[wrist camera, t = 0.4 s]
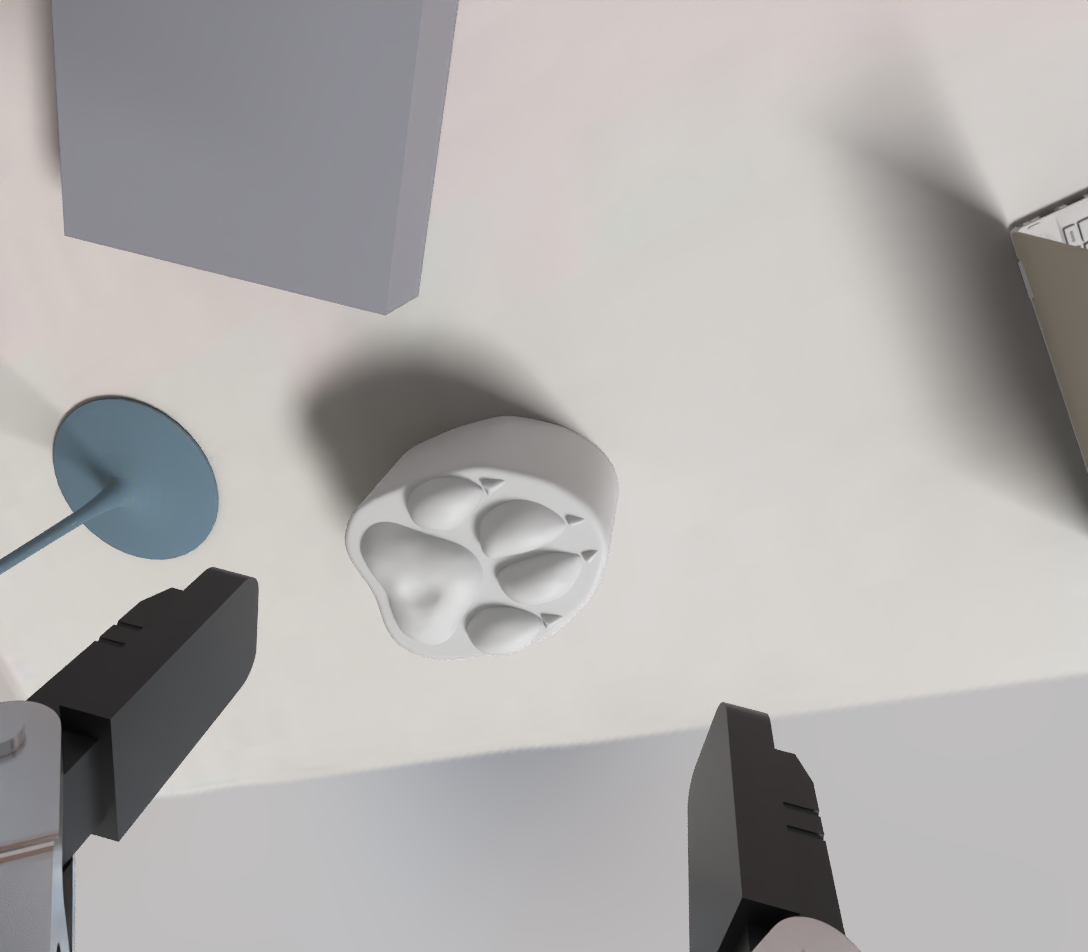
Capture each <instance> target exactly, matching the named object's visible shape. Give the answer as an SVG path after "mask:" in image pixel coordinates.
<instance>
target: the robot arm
mask: <svg viewBox="0 0 1088 952" xmlns="http://www.w3.org/2000/svg"><path fill="white" fill-rule="evenodd" d="M258 591H259V590H258V582H257V580H256V579H255V578H253V577H249V576H246V575H242V574H238V573H234V572H230V571H226V570H223V569H219V568H215V567H211V568H209V569H207V570H206V571H204V572H203V573H202V574H201V575H200V576H199V577H198V578H197V579H196V580H194V581H193V582H192V583H191V584H190V585H189V586H188V587H187V588H186V589H185V590H184V591H182V590H179V589H175V588H170V589H167V590H165V591H163V592H161V593H158V594H156V595H154V596H152V597H149V598H147V599H145V600H143V601H141V602H139V603H138V604H137V605H136V606H135V607H134V608H132V609H131V610H130V611H129V612H128V613H127V614H126V615H124V616H123V617H122V618H121V619H120V620H119V621H118V624H117V625H113V626H112V627H110V628H109V629H108V630H107V631H106V632H105V633H104V634H102V635H101V636H100V638H99V641H98V642H97V641H94V642H93V643H92V644H91V645H90V646H89V647H87V648H86V649H85V650H84V651H83V652H82V653H80V654H79V655H78V656H77V657H76V658H75V659H73V660H72V661H71V662H70V663H69V664H68V665H67V666H65V667H64V668H63V669H62V670H61V671H60V672H58V673H57V674H56V675H55V676H54V677H53V678H52V679H50V680H49V681H48V682H47V683H46V684H45V685H43V686H42V687H41V688H40V689H39V690H38V691H36V692H35V693H34V694H33V695H32V696H31V697H30V698H28V699H27V700H26V701H7V702H1V703H0V952H75V855H74V853H75V852H76V851H77V850H78V849H79V847H80V846H81V845H82V844H83V843H84V841H85V840H86V839H87V837H89V835H90V834H94V835H98V836H101V837H105V838H108V839H111V840H115V841H118V842H119V841H120V839H121V838H122V837H123V836H124V834H125V833H126V832H127V831H128V829H129V828H130V827H131V826H132V824H133V823H134V822H135V820H136V819H137V818H138V817H139V815H140V814H141V813H142V812H143V810H144V809H145V808H146V807H147V805H148V804H149V803H150V802H151V800H152V799H153V798H154V797H155V795H156V794H157V793H158V792H159V790H160V789H161V788H162V786H163V785H164V784H165V783H166V781H167V780H168V779H169V778H170V776H171V775H172V774H173V773H174V771H175V770H176V769H177V768H178V766H179V765H180V764H181V763H182V761H183V760H184V759H185V757H186V756H187V755H188V754H189V752H190V751H191V750H192V749H193V747H194V746H195V745H196V744H197V742H198V741H199V740H200V739H201V737H202V736H203V735H204V734H205V732H206V731H207V730H208V728H209V727H210V726H211V725H212V723H213V722H214V721H215V720H216V718H217V717H218V716H219V715H220V713H221V712H222V711H223V710H224V708H225V707H226V706H227V705H228V703H229V702H230V701H231V700H232V698H233V697H234V696H235V694H236V693H237V692H238V691H239V689H240V688H241V687H242V685H243V684H244V682H245V681H246V679H247V677H248V675H249V673H250V671H251V668H252V665H253V662H254V659H255V654H256V643H257V617H258ZM818 814H819V808H818V804H817V799H816V794H815V789H814V784H813V782H812V780H811V778H810V777H809V776H808V774H807V772H806V771H805V769H804V768H803V766H802V765H801V763H800V761H799V760H798V758H797V757H796V755H795V754H792V753H788V752H784V751H781V750H777V749H775V748H774V742H773V735H772V730H771V723H770V718H769V716H768V714H766V713H763V712H759V711H755V710H751V709H747V708H744V707H740V706H736V705H732V704H728V703H725V702H722V703H721V704H720V705H719V707H718V709H717V711H716V713H715V716H714V719H713V721H712V724H711V727H710V729H709V732H708V735H707V737H706V740H705V743H704V745H703V748H702V750H701V753H700V756H699V758H698V761H697V764H696V766H695V769H694V772H693V776H692V780H691V785H690V790H689V798H688V862H689V863H688V864H689V929H690V930H689V933H690V934H689V935H690V952H861V951H860V950H859V949H858V948H857V947H856V946H855V944H854V943H853V942H851V941H850V940H849V939H848V938H847V937H846V936H845V932H844V928H843V923H842V918H841V914H840V909H839V904H838V899H837V895H836V890H835V886H834V880H833V875H832V870H831V866H830V861H829V856H828V851H827V846H826V842H825V841H823V837H824V832H823V827H822V823H821V818H820V817H819V816H818Z"/></svg>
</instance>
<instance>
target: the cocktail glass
mask: <svg viewBox="0 0 1088 952" xmlns="http://www.w3.org/2000/svg"><path fill="white" fill-rule="evenodd" d="M53 463H54V469H55V475H56V478H57V481H58V485H59V487H60V490H61V492H62V494H63V496H64V498H65V500H66V502H67V503H68V505H69V506H70V508H71V510H72V511H73V512H74V513H72V514H71V515H69V516H68V517H66V518H65V519H63V520H62V521H60V522H59V523H57V524H55V525H54V526H52V527H51V528H49V529H48V530H46V531H45V532H43V533H41V534H40V535H38V536H37V537H35V538H34V539H32V540H30V541H29V542H27V543H26V544H24V545H22V546H21V547H19V548H18V549H16V550H15V551H13V552H11V553H10V554H8V555H7V556H5V557H3V558H2V559H0V574H2V573H3V572H5V571H7V570H8V569H10V568H11V567H13V566H15V565H16V564H18V563H19V562H21V561H23V560H24V559H26V558H27V557H29V556H31V555H32V554H34V553H36V552H37V551H39V550H40V549H42V548H44V547H45V546H47V545H48V544H50V543H52V542H53V541H55V540H57V539H58V538H60V537H61V536H63V535H65V534H66V533H68V532H70V531H71V530H73V529H75V528H76V527H78V526H80V525H81V524H84V525H85V526H86V527H87V528H88V529H89V530H90V531H91V532H92V533H93V534H95V535H96V536H97V537H99V538H100V539H101V540H102V541H104V542H106V543H107V544H109V545H111V546H112V547H114V548H116V549H118V550H120V551H123V552H125V553H127V554H130V555H133V556H137V557H140V558H147V559H162V560H164V559H170V558H176V557H179V556H182V555H185V554H187V553H189V552H191V551H192V550H194V549H196V548H197V547H198V546H199V545H200V544H201V543H202V542H203V541H204V540H205V539H206V538H207V536H208V535H209V533H210V532H211V530H212V528H213V526H214V524H215V521H216V517H217V512H218V490H217V484H216V481H215V477H214V474H213V471H212V469H211V466H210V464H209V462H208V460H207V458H206V456H205V455H204V453H203V452H202V450H201V448H200V447H199V446H198V444H197V443H196V442H195V441H194V439H193V438H192V437H191V436H190V435H189V434H188V433H187V432H186V431H185V430H184V429H183V428H182V427H181V426H180V425H179V424H178V423H176V422H175V421H174V420H172V419H171V418H169V417H168V416H167V415H165V414H164V413H162V412H160V411H158V410H156V409H154V408H152V407H150V406H147V405H145V404H142V403H140V402H136V401H131V400H127V399H116V398H109V399H100V400H96V401H93V402H90V403H86V404H84V405H83V406H81V407H79V408H77V409H76V410H74V411H73V412H72V413H71V414H70V415H69V416H68V417H67V418H66V419H65V421H64V422H63V424H62V425H61V427H60V428H59V431H58V433H57V436H56V438H55V444H54V449H53Z"/></svg>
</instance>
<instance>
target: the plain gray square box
mask: <svg viewBox="0 0 1088 952" xmlns="http://www.w3.org/2000/svg"><path fill="white" fill-rule="evenodd" d="M458 1H459V0H51V6H52V23H53V41H54V58H55V76H56V94H57V111H58V129H59V146H60V164H61V182H62V199H63V217H64V234H65V236H68V237H72V238H76V239H80V240H84V241H88V242H92V243H96V244H100V245H104V246H108V247H112V248H116V249H120V250H124V251H128V252H132V253H136V254H140V255H144V256H149V257H153V258H157V259H161V260H165V261H169V262H173V263H177V264H181V265H185V266H189V267H193V268H197V269H201V270H205V271H209V272H213V273H217V274H221V275H225V276H229V277H233V278H237V279H241V280H245V281H249V282H253V283H257V284H261V285H265V286H269V287H273V288H277V289H281V290H285V291H289V292H293V293H297V294H301V295H305V296H309V297H313V298H317V299H321V300H325V301H329V302H333V303H337V304H342V305H346V306H350V307H354V308H358V309H362V310H366V311H370V312H374V313H378V314H382V315H387V314H388V313H390V312H392V311H394V310H395V309H397V308H399V307H400V306H402V305H404V304H405V303H407V302H409V301H410V300H412V299H414V298H416V297H417V296H418V293H419V285H420V278H421V271H422V264H423V256H424V249H425V242H426V234H427V227H428V220H429V213H430V205H431V198H432V191H433V183H434V176H435V169H436V161H437V154H438V147H439V140H440V132H441V125H442V118H443V110H444V103H445V96H446V89H447V81H448V74H449V67H450V59H451V52H452V45H453V38H454V30H455V23H456V16H457V8H458Z"/></svg>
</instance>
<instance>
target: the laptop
mask: <svg viewBox="0 0 1088 952" xmlns="http://www.w3.org/2000/svg"><path fill="white" fill-rule="evenodd" d="M1010 236H1011V239H1012V243H1013V246H1014V249H1015V253H1016V256H1017V258H1018V259H1019V261H1018V265H1019V268H1020V271H1021V274H1022V277H1023V280H1024V283H1025V286H1026V289H1027V292H1028V296H1029V299H1031V302H1032V305H1033V308H1034V311H1035V314H1036V317H1037V320H1038V323H1039V326H1040V329H1041V332H1042V335H1043V338H1044V342H1045V345H1046V348H1047V351H1048V354H1049V357H1050V360H1051V363H1052V366H1053V369H1054V372H1055V375H1056V378H1057V381H1058V384H1059V387H1060V390H1061V393H1062V396H1063V399H1064V403H1065V406H1066V409H1067V412H1068V415H1069V418H1070V421H1071V424H1072V427H1073V430H1074V433H1075V436H1076V439H1077V442H1078V445H1079V448H1080V451H1081V454H1082V457H1083V461H1084V464H1085V467H1086V470H1087V473H1088V193H1087V194H1085V195H1083V199H1081V200H1079V201H1077V202H1074V203H1072V204H1070V205H1068V206H1067V205H1065V204H1064V205H1061V206H1059V207H1057V208H1055V212H1053V213H1051V214H1049V215H1046V216H1044V217H1042V218H1041V217H1040V216H1038V217H1035V218H1033V219H1031V220H1029V221H1027V222H1024V223H1022V224H1020V225H1018V226H1016V227H1014V228H1013V229H1012V230H1011V231H1010Z"/></svg>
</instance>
